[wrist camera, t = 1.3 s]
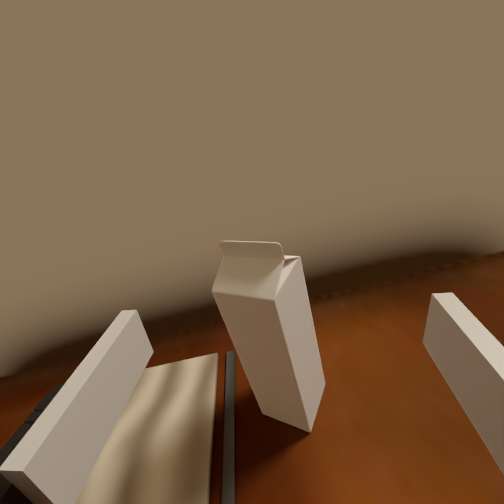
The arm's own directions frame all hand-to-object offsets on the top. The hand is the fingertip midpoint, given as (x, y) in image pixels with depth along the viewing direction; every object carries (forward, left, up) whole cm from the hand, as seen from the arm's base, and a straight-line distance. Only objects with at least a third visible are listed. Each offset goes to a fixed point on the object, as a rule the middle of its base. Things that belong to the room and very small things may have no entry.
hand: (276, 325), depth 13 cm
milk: (+1, -11, -23) cm, 25 cm away
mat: (+18, -11, -23) cm, 31 cm away
